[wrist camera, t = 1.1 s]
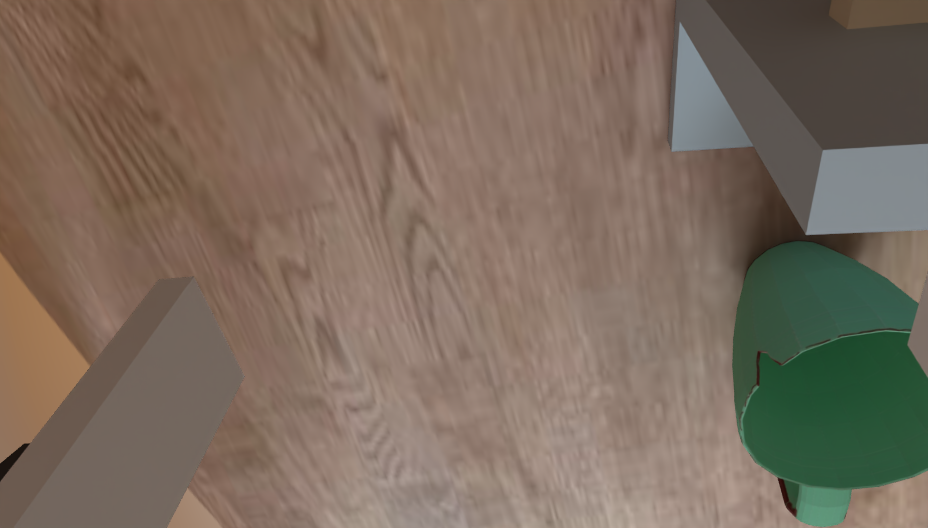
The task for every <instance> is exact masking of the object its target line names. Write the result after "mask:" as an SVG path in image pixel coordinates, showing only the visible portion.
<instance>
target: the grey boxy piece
mask: <svg viewBox="0 0 928 528" xmlns="http://www.w3.org/2000/svg"><path fill="white" fill-rule="evenodd" d="M668 143H669V146H670V149H671V151H672V152H674V151H690V150H706V149H722V148H739V147H754V148H755V150H756V151H757V153H758V155H759V157H760V158H761V160H762V162H763V163H764V165H765V167H766V168H767V170H768V172H769V174H770V175H771V177H772V179H773V180H774V182H775V184H776V185H777V187H778V189H779V190H780V192H781V194H782V196H783V197H784V199H785V201H786V202H787V204H788V206H789V207H790V209H791V211H792V212H793V214H794V216H795V218H796V219H797V221H798V223H799V224H800V226H801V228H802V229H803V231H804V233H805V234H806V235H817V234H841V233H864V232H888V231H912V230H928V0H676V10H675V27H674V44H673V61H672V78H671V95H670V112H669V129H668Z"/></svg>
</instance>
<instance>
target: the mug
mask: <svg viewBox="0 0 928 528" xmlns="http://www.w3.org/2000/svg"><path fill="white" fill-rule="evenodd" d="M918 305H919V304H918V303H917V302H916V301H914V300H913V299H912V298H911V297H909V296H908V295H907V294H905V293H904V292H903V291H902V290H900V289H899V288H898V287H897V286H895V285H894V284H893V283H892V282H890V281H889V280H888V279H887V278H885V277H883V276H882V275H880V274H878V273H876V272H875V271H873V270H871V269H870V268H868V267H866V266H864V265H863V264H861V263H859V262H858V261H856V260H854V259H852V258H849V257H847V256H845V255H843V254H840V253H838V252H836V251H834V250H831V249H829V248H827V247H825V246H822V245H819V244H816V243H814V242H806V241H794V242H789V243H783V244H780V245H778V246H775V247H773V248H771V249H769V250H767V251H766V252H764V253H763V254H762V255H761V256H759V257H758V258H757V259H756V260H754V262H753V263H752V265H751V266H750V267H749V269H748V271H747V274H746V277H745V280H744V284H743V288H742V292H741V296H740V299H739V303H738V307H737V314H736V322H735V329H734V337H733V363H732V367H733V381H734V402H735V410H736V419H737V426H738V432H739V435H740V439H741V442H742V444H743V445H744V447H745V448H746V450H747V451H748V453H749V454H750V456H751V457H752V459H753V460H754V462H755V463H757V464H758V465H760V466H761V467H763V468H764V469H766V470H767V471H769V472H770V473H772V474H773V475H775V476H776V477H778V481H779V485H780V488H781V492H782V496H783V499H784V503H785V506H786V508H787V509H788V510H789V511H790V512H791V513H792V514H793V515H794V516H795V517H796V518H797V519H798V520H800V521H801V522H803V523H805V524H808V525H812V526H820V527H826V526H833V525H838V524H840V523H841V522H843V520H844V519H845V517H846V513H847V510H848V506H849V503H850V499H851V491H852V489H860V488H871V487H879V486H883V485H887V484H890V483H894V482H898V481H901V480H905V479H909V478H912V477H915V476H917V475H919V474H921V473H923V472H926V471H928V377H927V376H926V374H925V372H924V371H923V369H922V368H921V366H920V364H919V363H918V361H917V360H916V358H915V356H914V355H913V353H912V351H911V350H910V348H909V347H908V345H907V344H908V341H909V337H910V334H911V330H912V326H913V323H914V319H915V316H916V312H917V309H918Z"/></svg>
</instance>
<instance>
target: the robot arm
mask: <svg viewBox="0 0 928 528" xmlns="http://www.w3.org/2000/svg"><path fill="white" fill-rule="evenodd" d="M907 345H908V347H909V348H910V350H911V351H912V353H913V355H914V356H915V358H916V360H917V361H918V363H919V364H920V366H921V368H922V369H923V371H924V372H925V374H926V376H927V377H928V273H927V277H926V280H925V284H924V288H923V291H922V295H921V298H920V302H919V305H918V309H917V312H916V316H915V319H914V323H913V326H912V330H911V334H910V337H909V341H908V344H907ZM244 377H245V376H244V374H243V372H242V370H241V368H240V366H239V364H238V362H237V360H236V358H235V356H234V354H233V352H232V351H231V349H230V347H229V345H228V343H227V341H226V339H225V337H224V335H223V333H222V331H221V329H220V327H219V325H218V323H217V321H216V319H215V317H214V315H213V313H212V311H211V309H210V307H209V305H208V303H207V301H206V299H205V297H204V295H203V293H202V291H201V289H200V287H199V285H198V283H197V282H196V280H195V278H194V276H193V277H181V278H168V279H159V280H158V281H157V282H156V284H155V285H154V286H153V287H152V289H151V290H150V291H149V293H148V294H147V295H146V296H145V298H144V299H143V300H142V301H141V303H140V304H139V305H138V307H137V308H136V309H135V310H134V312H133V313H132V314H131V316H130V317H129V318H128V319H127V321H126V322H125V323H124V324H123V326H122V327H121V328H120V330H119V331H118V332H117V333H116V335H115V336H114V337H113V339H112V340H111V341H110V342H109V344H108V345H107V346H106V347H105V349H104V350H103V351H102V353H101V354H100V355H99V356H98V358H97V359H96V360H95V361H94V363H93V364H92V365H91V367H90V368H89V369H88V370H87V372H86V373H85V374H84V376H83V377H82V378H81V379H80V381H79V382H78V383H77V384H76V386H75V387H74V388H73V390H72V391H71V392H70V393H69V395H68V396H67V397H66V399H65V400H64V401H63V402H62V404H61V405H60V406H59V407H58V409H57V410H56V411H55V413H54V414H53V415H52V416H51V418H50V419H49V420H48V421H47V423H46V424H45V425H44V427H43V428H42V429H41V430H40V432H39V433H38V434H37V436H36V437H35V438H34V439H33V441H32V442H31V443H29V444H23V445H22V446H21V447H20V448H18V449H17V450H16V451H15V452H14V453H12V454H11V455H10V456H9V457H8V458H6V459H5V460H4V461H3V462H2V463H0V528H167V527H168V525H169V522H170V520H171V519H172V517H173V515H174V513H175V511H176V509H177V507H178V505H179V503H180V501H181V499H182V497H183V495H184V493H185V492H186V490H187V488H188V486H189V484H190V482H191V480H192V478H193V476H194V474H195V472H196V470H197V468H198V466H199V464H200V462H201V460H202V458H203V457H204V455H205V453H206V451H207V449H208V447H209V445H210V443H211V441H212V439H213V437H214V435H215V433H216V431H217V429H218V427H219V425H220V423H221V422H222V420H223V418H224V416H225V414H226V412H227V410H228V408H229V406H230V404H231V402H232V400H233V398H234V396H235V394H236V392H237V390H238V388H239V387H240V385H241V383H242V381H243V379H244Z"/></svg>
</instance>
